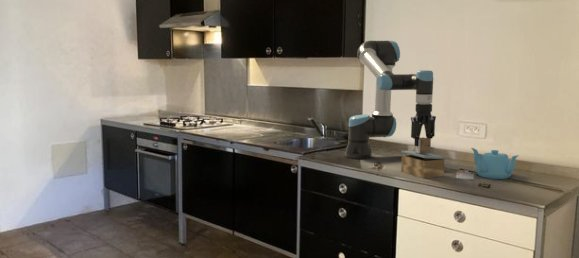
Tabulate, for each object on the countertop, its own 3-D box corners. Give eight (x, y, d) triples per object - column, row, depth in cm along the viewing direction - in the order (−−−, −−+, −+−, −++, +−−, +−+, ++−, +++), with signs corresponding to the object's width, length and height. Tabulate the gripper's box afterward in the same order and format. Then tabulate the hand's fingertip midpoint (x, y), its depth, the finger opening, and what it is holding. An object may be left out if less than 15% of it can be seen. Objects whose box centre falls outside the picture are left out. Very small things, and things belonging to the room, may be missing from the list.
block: (414, 152, 233) (415, 138, 233) (422, 151, 236) (423, 137, 235) (422, 154, 229) (422, 139, 228) (430, 153, 231) (430, 138, 230)
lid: (401, 152, 237) (401, 150, 237) (420, 153, 243) (420, 151, 243) (424, 158, 223) (425, 156, 223) (445, 158, 228) (445, 157, 228)
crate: (401, 171, 239) (401, 155, 238) (420, 169, 244) (420, 153, 243) (424, 178, 224) (424, 161, 223) (443, 175, 230) (444, 159, 229)
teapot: (477, 179, 222) (478, 153, 221) (469, 170, 240) (471, 146, 239) (517, 181, 219) (519, 154, 218) (506, 172, 237) (508, 147, 236)
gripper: (414, 104, 222) (412, 155, 225) (444, 103, 230) (442, 151, 233) (403, 103, 229) (402, 152, 232) (432, 102, 237) (431, 149, 240)
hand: (422, 152), depth 232 cm, fingers closed on block, 5 cm apart
